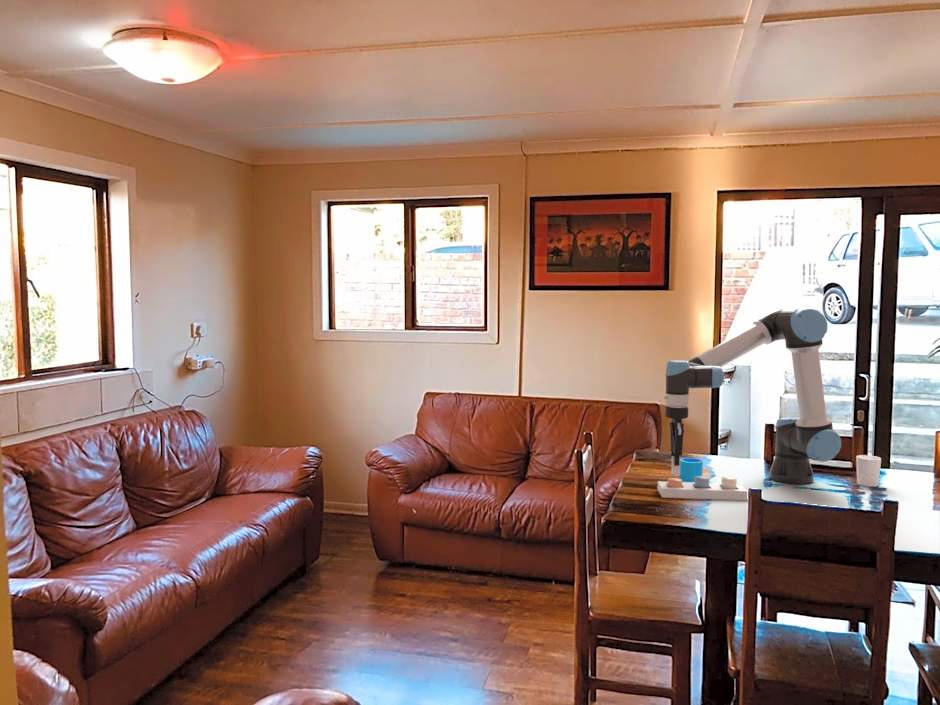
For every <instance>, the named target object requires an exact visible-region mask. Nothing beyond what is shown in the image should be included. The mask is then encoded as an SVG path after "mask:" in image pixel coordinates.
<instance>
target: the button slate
mask: <svg viewBox="0 0 940 705" xmlns="http://www.w3.org/2000/svg"><path fill="white" fill-rule="evenodd" d="M709 483H710V477H708V476H706V475H702V476H695V483H694V487H695V488H709Z"/></svg>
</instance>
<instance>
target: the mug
mask: <svg viewBox="0 0 940 705" xmlns="http://www.w3.org/2000/svg"><path fill="white" fill-rule="evenodd" d="M703 463H704V461H703V460H702V459H700V458H696V457H695V458H694V457H681V464H680V475H678V478H679V479H682V482H695V476H703V466H704V465H703Z"/></svg>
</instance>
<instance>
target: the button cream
mask: <svg viewBox="0 0 940 705" xmlns="http://www.w3.org/2000/svg"><path fill="white" fill-rule="evenodd" d="M721 483H722V484H721V488H722V489H736V484H738V482H737V478H736V477H734V476H733V477H732V476H722V477H721Z"/></svg>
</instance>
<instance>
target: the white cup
mask: <svg viewBox="0 0 940 705" xmlns="http://www.w3.org/2000/svg"><path fill="white" fill-rule="evenodd" d="M855 461H856V464H855V465H856V484H857V485H859V486H862V487H871V488H873V487H874V488H876V487H878V486H879V481H880V480H879V479H880V474H881V473H880V472H881V467H882V466H881V464H882V457H880V456H876V455H870V454H869V455H868V454H859V455H856V459H855Z"/></svg>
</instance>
